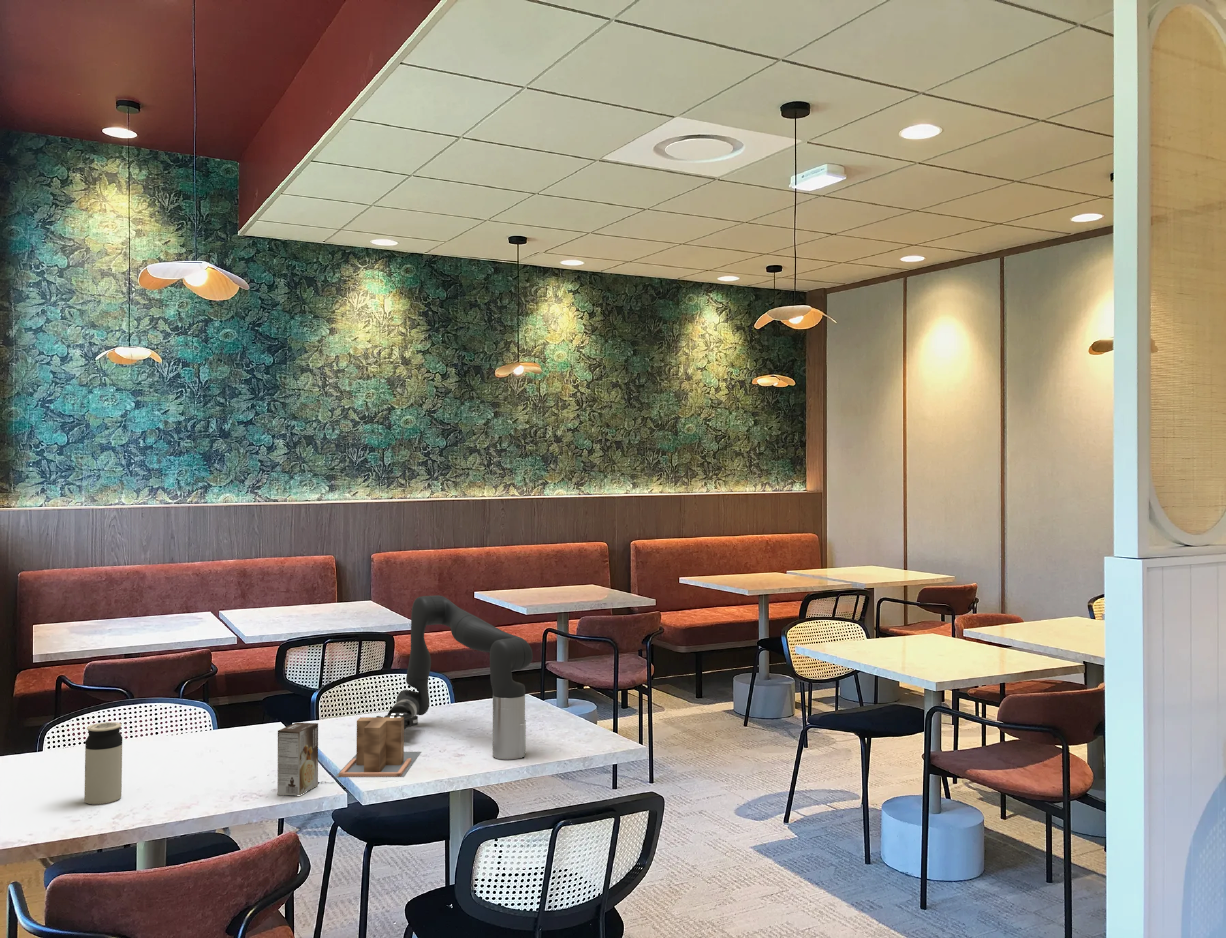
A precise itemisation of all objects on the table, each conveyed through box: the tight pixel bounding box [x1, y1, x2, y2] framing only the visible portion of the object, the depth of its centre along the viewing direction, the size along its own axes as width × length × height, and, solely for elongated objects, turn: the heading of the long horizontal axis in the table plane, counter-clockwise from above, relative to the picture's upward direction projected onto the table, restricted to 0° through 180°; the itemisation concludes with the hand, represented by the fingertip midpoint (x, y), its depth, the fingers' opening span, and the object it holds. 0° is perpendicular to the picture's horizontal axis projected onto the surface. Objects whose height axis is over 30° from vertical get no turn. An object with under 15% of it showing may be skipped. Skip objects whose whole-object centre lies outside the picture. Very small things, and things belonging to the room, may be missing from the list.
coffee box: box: [276, 722, 319, 796], centre depth 242 cm, size 9×6×16 cm
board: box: [334, 751, 422, 778], centre depth 262 cm, size 18×25×2 cm
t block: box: [355, 716, 405, 772], centre depth 259 cm, size 12×12×12 cm
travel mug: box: [83, 721, 123, 806], centre depth 234 cm, size 8×8×18 cm
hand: (390, 727), depth 276 cm, fingers closed
